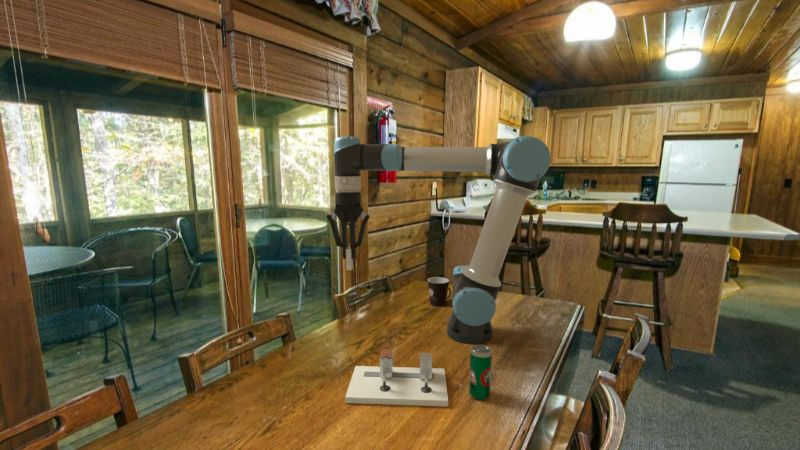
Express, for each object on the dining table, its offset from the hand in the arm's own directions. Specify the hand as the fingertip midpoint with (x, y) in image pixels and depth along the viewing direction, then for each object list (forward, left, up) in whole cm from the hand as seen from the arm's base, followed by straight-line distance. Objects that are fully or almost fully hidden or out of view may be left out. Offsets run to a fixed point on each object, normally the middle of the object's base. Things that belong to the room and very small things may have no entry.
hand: (349, 269), depth 112 cm
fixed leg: (-23, +21, -23) cm, 39 cm away
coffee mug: (-29, -36, -25) cm, 52 cm away
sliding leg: (-13, +21, -22) cm, 33 cm away
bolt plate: (-16, +22, -24) cm, 37 cm away
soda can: (-36, +24, -25) cm, 50 cm away
